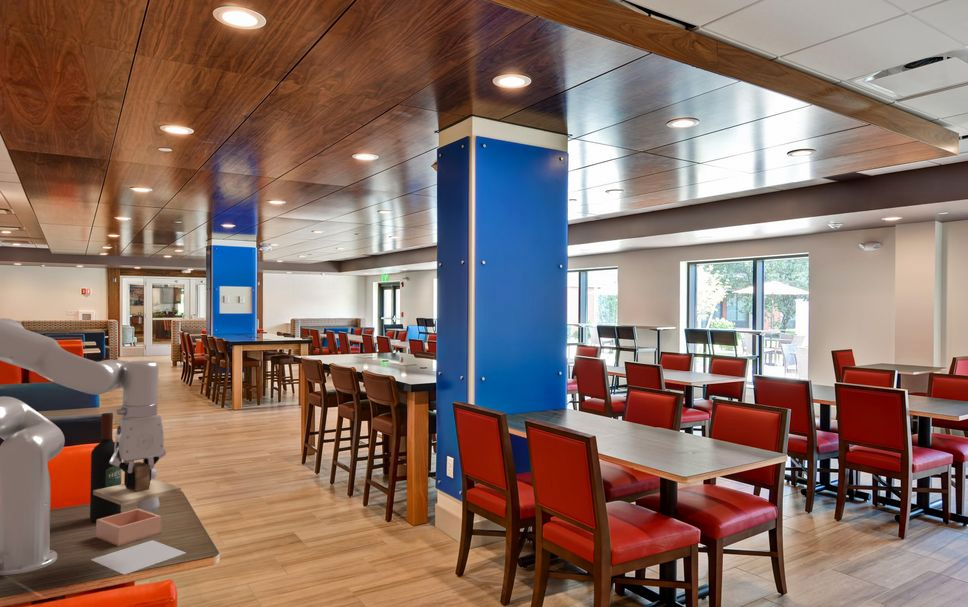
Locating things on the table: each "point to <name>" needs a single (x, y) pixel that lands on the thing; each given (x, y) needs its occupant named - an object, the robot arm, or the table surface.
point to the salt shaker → (153, 503)
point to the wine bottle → (104, 472)
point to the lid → (137, 488)
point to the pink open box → (128, 527)
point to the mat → (138, 557)
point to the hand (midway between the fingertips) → (137, 485)
